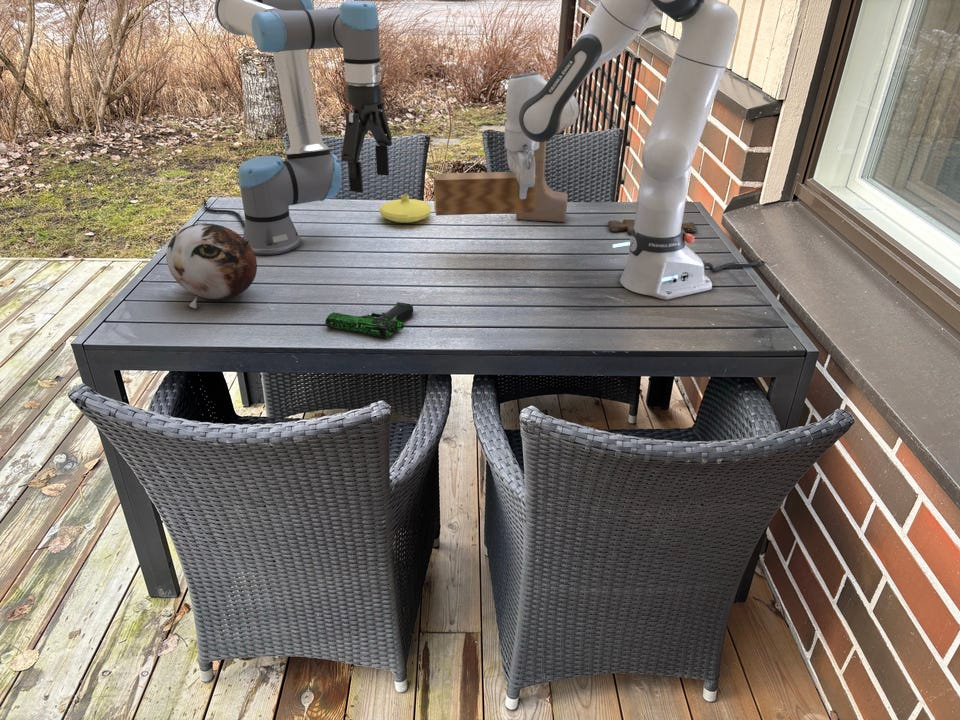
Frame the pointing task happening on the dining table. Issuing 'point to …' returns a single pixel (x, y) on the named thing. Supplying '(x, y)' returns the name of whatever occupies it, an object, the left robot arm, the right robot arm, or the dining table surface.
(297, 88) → the left robot arm
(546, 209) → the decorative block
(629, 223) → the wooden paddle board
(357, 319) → the handgun
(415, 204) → the yellow pattypan squash
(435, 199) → the bar
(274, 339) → the dining table surface
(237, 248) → the cat face balloon
